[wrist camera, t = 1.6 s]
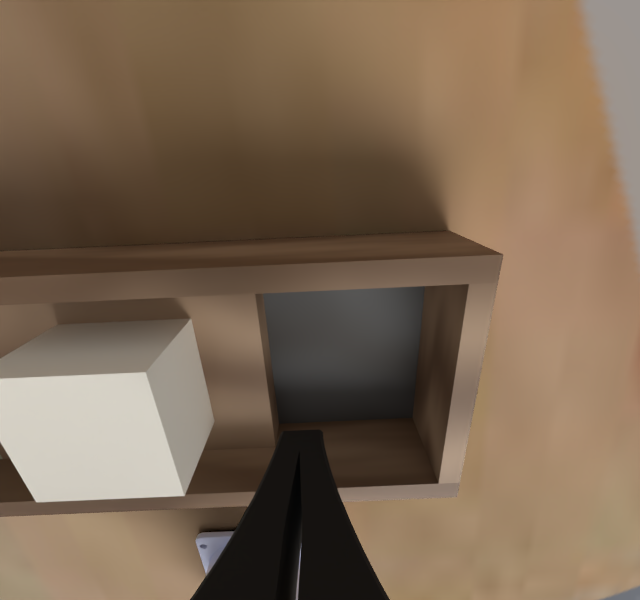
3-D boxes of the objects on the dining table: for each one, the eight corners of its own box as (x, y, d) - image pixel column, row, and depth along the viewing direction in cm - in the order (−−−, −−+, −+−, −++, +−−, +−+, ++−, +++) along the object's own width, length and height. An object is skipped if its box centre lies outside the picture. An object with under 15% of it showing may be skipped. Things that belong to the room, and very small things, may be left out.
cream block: (214, 421, 16) (184, 495, 12) (100, 426, 16) (36, 502, 12) (190, 318, 14) (145, 372, 10) (57, 324, 14) (-37, 380, 10)
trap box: (426, 426, 19) (457, 496, 15) (-88, 448, 19) (-200, 525, 15) (448, 230, 14) (503, 254, 10) (-229, 261, 15) (-447, 297, 10)
